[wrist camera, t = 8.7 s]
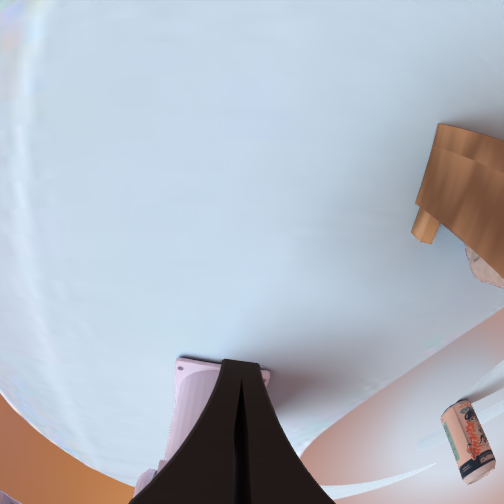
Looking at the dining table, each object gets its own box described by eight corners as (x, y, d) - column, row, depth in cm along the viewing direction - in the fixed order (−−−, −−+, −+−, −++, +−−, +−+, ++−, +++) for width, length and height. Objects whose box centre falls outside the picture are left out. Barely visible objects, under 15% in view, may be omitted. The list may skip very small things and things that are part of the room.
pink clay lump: (467, 163, 16) (537, 198, 10) (512, 209, 17) (569, 249, 11) (426, 236, 18) (481, 294, 12) (476, 270, 20) (523, 322, 13)
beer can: (473, 399, 29) (502, 464, 19) (449, 419, 31) (473, 483, 21) (459, 396, 28) (490, 468, 18) (433, 417, 30) (458, 488, 20)
